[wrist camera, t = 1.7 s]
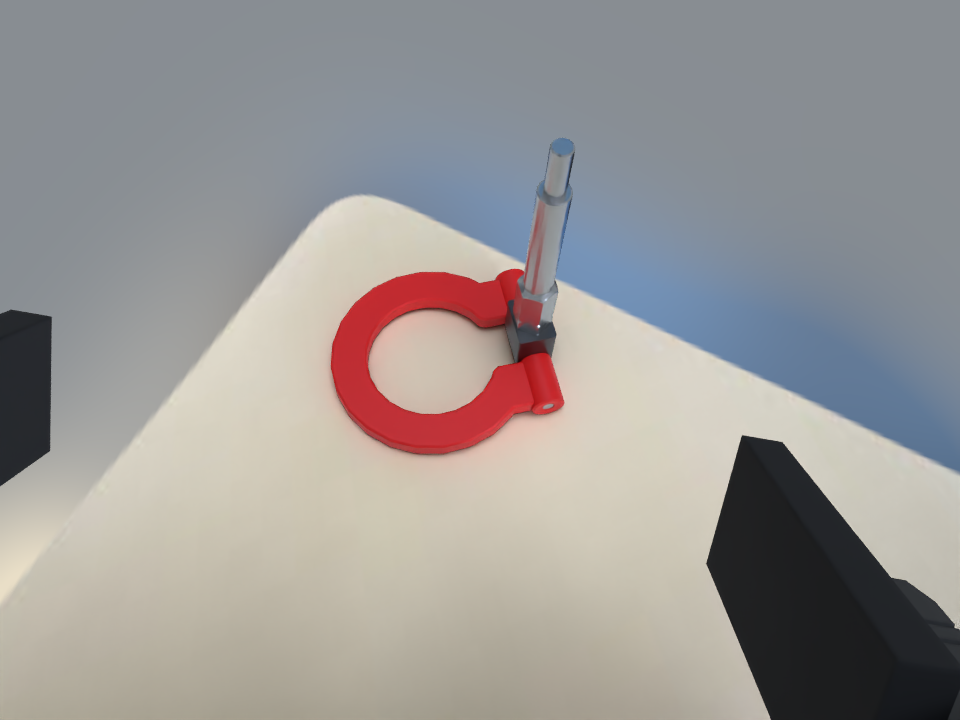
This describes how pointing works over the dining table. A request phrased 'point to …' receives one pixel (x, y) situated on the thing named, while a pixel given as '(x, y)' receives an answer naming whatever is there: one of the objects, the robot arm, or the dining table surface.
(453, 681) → the dining table surface
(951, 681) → the robot arm
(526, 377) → the tow hook
